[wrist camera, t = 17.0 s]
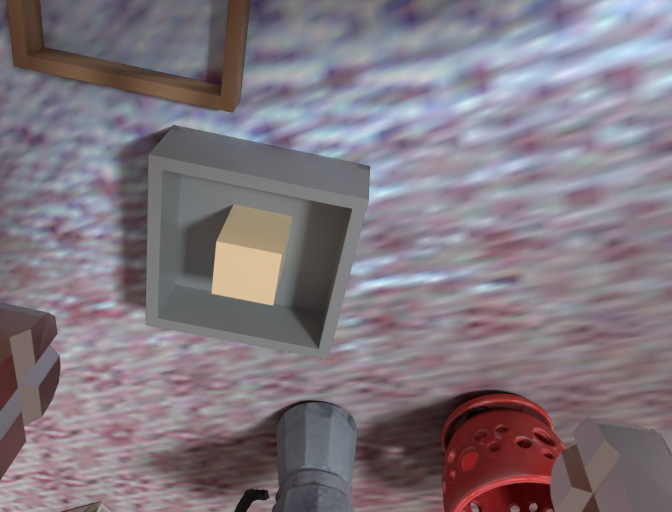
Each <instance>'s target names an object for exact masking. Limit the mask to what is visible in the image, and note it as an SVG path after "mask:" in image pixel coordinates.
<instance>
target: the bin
mask: <svg viewBox="0 0 672 512" xmlns="http://www.w3.org/2000/svg"><path fill="white" fill-rule="evenodd" d="M369 181H370V166H367V165H362V164H357V163H353V162H348V161H343V160H338V159H333V158H329V157H324V156H319V155H314V154H309V153H305V152H300V151H295V150H290V149H286V148H281V147H276V146H271V145H266V144H262V143H257V142H252V141H247V140H242V139H238V138H233V137H228V136H223V135H219V134H214V133H209V132H204V131H199V130H195V129H190V128H185V127H180V126H175V125H174V126H173V127H172V128H171V129H170V130H169V132H168V133H167V134H166V135H165V136H164V137H163V138H162V140H161V141H160V142H159V143H158V144H157V145H156V146H155V147H154V149H153V150H152V151H151V152H150V153H149V155H148V213H147V272H146V325H149V326H154V327H159V328H164V329H170V330H175V331H180V332H185V333H191V334H196V335H201V336H206V337H212V338H217V339H222V340H227V341H233V342H238V343H243V344H248V345H254V346H259V347H264V348H269V349H275V350H280V351H285V352H290V353H296V354H301V355H306V356H311V357H317V358H322V359H327V360H328V358H329V354H330V350H331V346H332V342H333V338H334V334H335V330H336V326H337V323H338V319H339V315H340V311H341V307H342V303H343V299H344V295H345V291H346V287H347V283H348V279H349V275H350V272H351V268H352V264H353V260H354V256H355V252H356V248H357V244H358V240H359V236H360V232H361V228H362V225H363V221H364V217H365V213H366V209H367V205H368V201H369ZM233 205H239V206H244V207H249V208H253V209H258V210H263V211H268V212H273V213H278V214H283V215H288V216H292V220H291V226H290V232H289V237H288V243H287V249H286V254H285V260H284V265H283V269H282V273H281V277H280V281H279V285H278V289H277V293H276V297H275V300H274V304H273V305H267V304H262V303H257V302H252V301H247V300H242V299H237V298H231V297H226V296H221V295H216V294H211V293H212V283H213V272H214V262H215V251H216V241H217V239H218V237H219V235H220V233H221V230H222V228H223V226H224V224H225V222H226V220H227V218H228V215H229V213H230V211H231V209H232V207H233Z"/></svg>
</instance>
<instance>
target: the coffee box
mask: <svg viewBox="0 0 672 512" xmlns="http://www.w3.org/2000/svg"><path fill="white" fill-rule="evenodd" d="M66 512H112V511H111V510H110V509H108V508H107V507H106V506H105V505H104V504H103V503H102V502H98V503H94V504H91V505H87V506H84V507H80V508H76V509H73V510H69V511H66Z"/></svg>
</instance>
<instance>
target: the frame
mask: <svg viewBox="0 0 672 512" xmlns="http://www.w3.org/2000/svg"><path fill="white" fill-rule="evenodd" d="M250 1H251V0H229V4H228V16H227V28H226V39H225V51H224V63H223V74H222V85H218V84H214V83H209V82H204V81H200V80H195V79H190V78H186V77H181V76H176V75H171V74H167V73H162V72H157V71H153V70H148V69H143V68H139V67H134V66H129V65H125V64H120V63H115V62H111V61H106V60H101V59H96V58H92V57H87V56H82V55H78V54H73V53H68V52H64V51H59V50H54V49H50V48H45V47H44V43H43V31H42V18H41V6H40V0H7V8H8V17H9V26H10V35H11V44H12V53H13V62H14V66H15V67H20V68H24V69H29V70H34V71H39V72H43V73H48V74H53V75H58V76H62V77H67V78H72V79H76V80H81V81H86V82H91V83H95V84H100V85H105V86H110V87H114V88H119V89H124V90H129V91H133V92H138V93H143V94H147V95H152V96H157V97H162V98H166V99H171V100H176V101H181V102H185V103H190V104H195V105H200V106H204V107H209V108H214V109H219V110H223V111H228V112H234V110H235V109H236V107H237V106H238V104H239V103H240V96H241V86H242V77H243V67H244V58H245V48H246V39H247V29H248V20H249V10H250Z"/></svg>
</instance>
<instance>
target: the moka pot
mask: <svg viewBox="0 0 672 512" xmlns="http://www.w3.org/2000/svg"><path fill="white" fill-rule="evenodd" d="M276 438H277V458H278V481H279V486H280V488H279V490H278V492H277V494H276V497H275V499H276V502H277V503H276V504H275V505H274V506H273V509H272V512H354V510H353V507H352V504H351V493H350V491H351V488H352V486H351V482H352V473H353V466H354V458H355V450H356V442H357V428H356V424H355V421H354V419H353V417H352V416H351V415H350V414H349V413H348V412H346V411H345V410H343V409H342V408H340V407H338V406H336V405H333V404H329V403H317V402H308V403H303V404H299V405H296V406H295V407H292V408H291V409H289V410H288V411H286V412H285V413H284V414H283V415H282V417H281V418H280V420H279V422H278V424H277V426H276ZM268 498H269V494H268V491H267V490H258V489H256V490H255V489H250V490H247V491H245V493H244V495H243V497H242V498H241V500H240V502H239V503H238V505H237V507H236V509H235V511H234V512H246V511H247V509H248V508H249V506H250V505H251V503H252V502H253V501H255V500H267V499H268Z"/></svg>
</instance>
